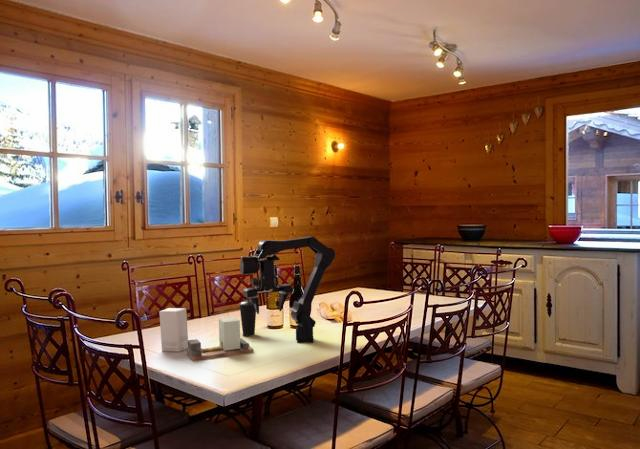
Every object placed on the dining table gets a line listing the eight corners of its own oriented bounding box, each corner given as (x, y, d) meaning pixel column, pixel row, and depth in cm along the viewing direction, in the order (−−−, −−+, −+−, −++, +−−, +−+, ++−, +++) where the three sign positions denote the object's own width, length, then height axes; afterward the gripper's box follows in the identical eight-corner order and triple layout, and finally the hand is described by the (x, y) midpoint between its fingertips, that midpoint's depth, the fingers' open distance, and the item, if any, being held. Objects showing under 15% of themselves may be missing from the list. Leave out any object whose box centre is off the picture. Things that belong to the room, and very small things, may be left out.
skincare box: (189, 348, 201) (187, 308, 200) (179, 352, 195) (177, 311, 194) (170, 346, 204) (169, 307, 203) (160, 351, 197) (158, 310, 197)
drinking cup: (254, 337, 215) (253, 289, 214) (237, 337, 217) (235, 289, 216) (260, 333, 223) (259, 286, 222) (243, 332, 224) (242, 286, 223)
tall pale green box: (234, 344, 199) (234, 316, 198) (240, 348, 193) (239, 320, 192) (219, 346, 196) (218, 318, 196) (224, 350, 190) (223, 322, 190)
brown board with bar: (245, 345, 202) (244, 331, 202) (253, 352, 193) (253, 337, 193) (186, 354, 192) (186, 339, 192) (192, 361, 183) (192, 345, 183)
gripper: (282, 268, 213) (283, 306, 213) (237, 272, 204) (239, 312, 205) (292, 271, 203) (294, 310, 203) (246, 275, 194) (248, 317, 195)
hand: (269, 312), depth 202 cm, fingers open, 9 cm apart
